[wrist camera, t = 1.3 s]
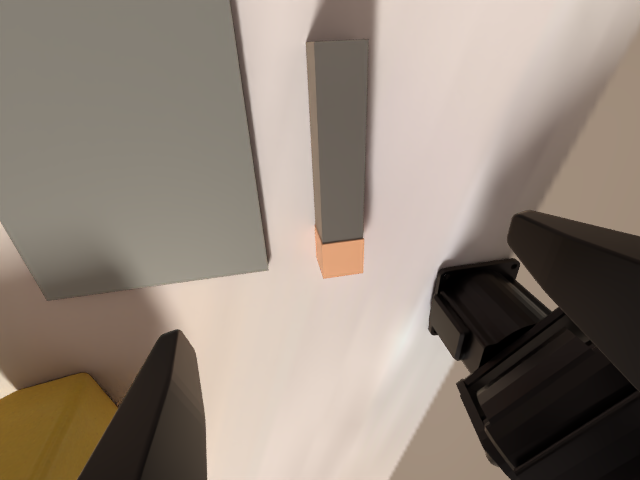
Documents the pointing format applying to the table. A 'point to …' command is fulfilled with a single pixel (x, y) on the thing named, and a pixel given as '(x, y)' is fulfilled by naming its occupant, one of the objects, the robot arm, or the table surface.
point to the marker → (338, 151)
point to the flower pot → (52, 428)
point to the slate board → (125, 144)
